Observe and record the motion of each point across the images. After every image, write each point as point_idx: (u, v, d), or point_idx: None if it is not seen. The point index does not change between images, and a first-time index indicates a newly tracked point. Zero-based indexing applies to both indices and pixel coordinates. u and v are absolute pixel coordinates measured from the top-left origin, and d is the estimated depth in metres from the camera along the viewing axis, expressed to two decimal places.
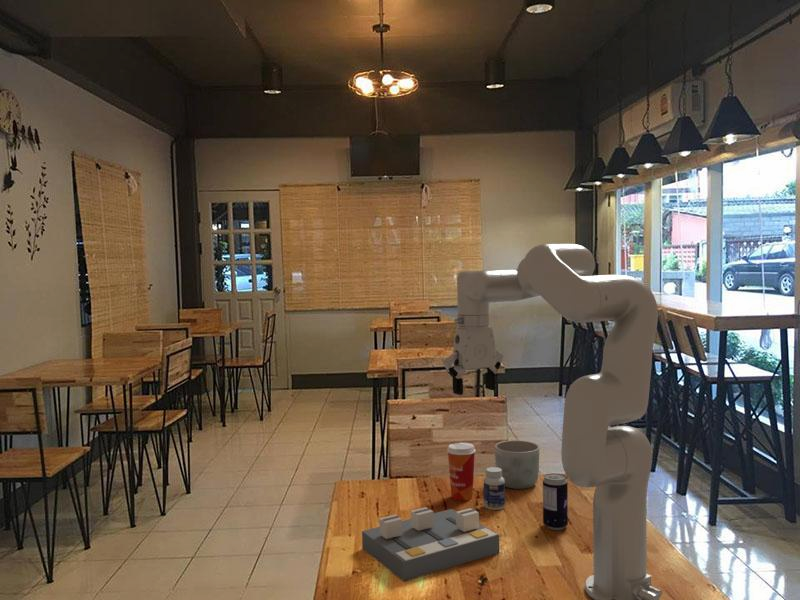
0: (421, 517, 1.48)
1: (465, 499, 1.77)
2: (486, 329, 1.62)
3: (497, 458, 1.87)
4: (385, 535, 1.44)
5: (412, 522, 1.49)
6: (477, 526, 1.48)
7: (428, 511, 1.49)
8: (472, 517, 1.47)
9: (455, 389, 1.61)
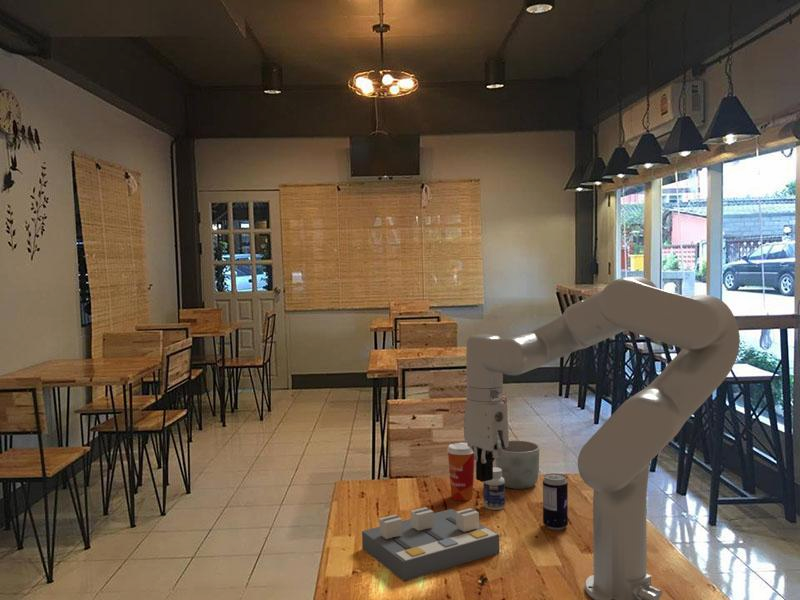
0: (421, 517, 1.48)
1: (465, 499, 1.77)
2: None
3: (497, 458, 1.87)
4: (385, 535, 1.44)
5: (412, 522, 1.49)
6: (477, 526, 1.48)
7: (428, 511, 1.49)
8: (472, 517, 1.47)
9: (490, 475, 1.41)
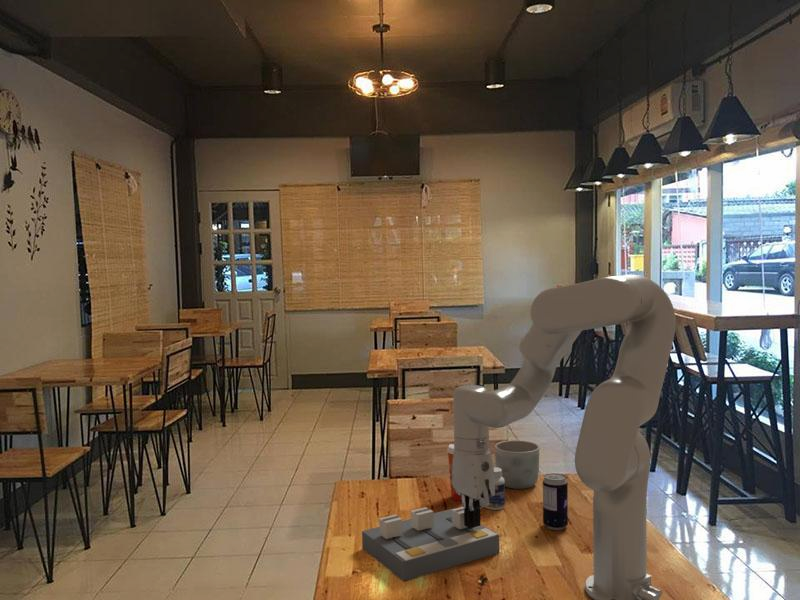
0: (421, 517, 1.48)
1: None
2: None
3: (497, 458, 1.87)
4: (385, 535, 1.44)
5: (412, 522, 1.49)
6: None
7: (428, 511, 1.49)
8: None
9: (477, 522, 1.45)
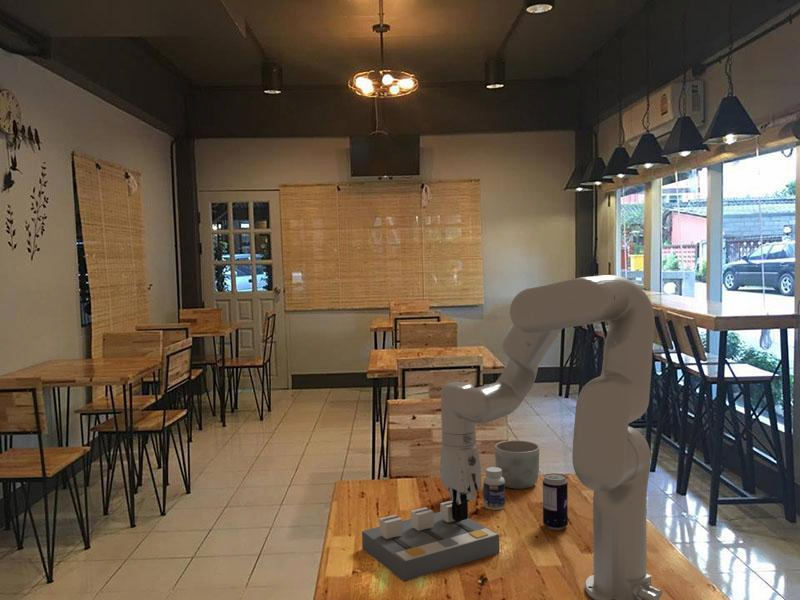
0: (421, 517, 1.48)
1: None
2: None
3: (497, 458, 1.87)
4: (385, 535, 1.44)
5: (412, 522, 1.49)
6: None
7: (428, 511, 1.49)
8: None
9: (465, 515, 1.49)
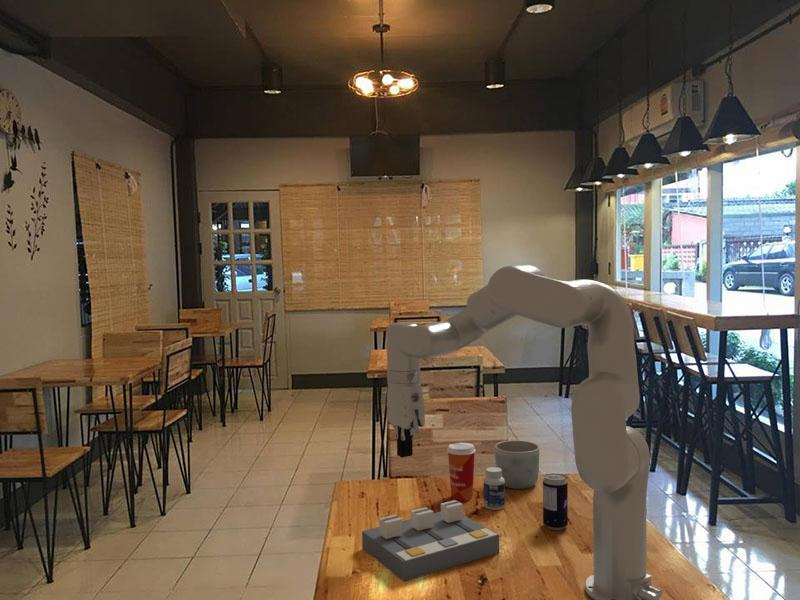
0: (421, 517, 1.48)
1: (465, 499, 1.77)
2: None
3: (497, 458, 1.87)
4: (385, 535, 1.44)
5: (412, 522, 1.49)
6: (461, 517, 1.53)
7: (428, 511, 1.49)
8: (456, 509, 1.52)
9: (409, 451, 1.53)
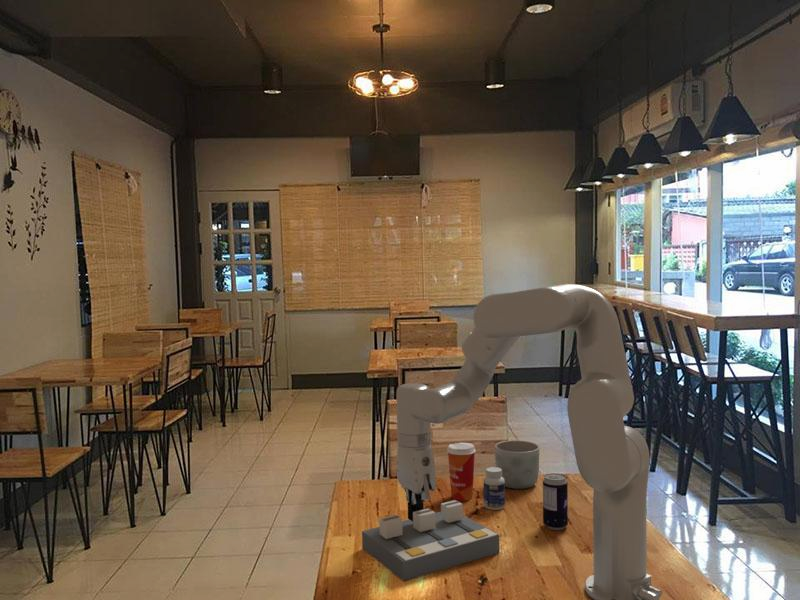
0: (423, 518, 1.47)
1: (465, 499, 1.77)
2: None
3: (497, 458, 1.87)
4: (385, 535, 1.44)
5: (414, 523, 1.48)
6: (461, 517, 1.53)
7: (430, 512, 1.48)
8: (456, 509, 1.52)
9: None
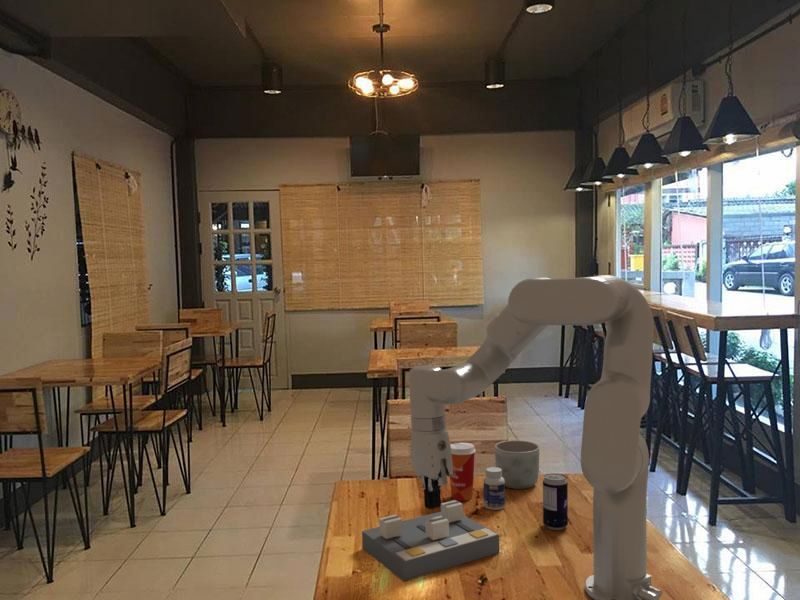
0: (436, 526, 1.42)
1: (465, 499, 1.77)
2: None
3: (497, 458, 1.87)
4: (385, 535, 1.44)
5: (427, 531, 1.44)
6: (461, 517, 1.53)
7: (443, 520, 1.44)
8: (456, 509, 1.52)
9: (437, 502, 1.45)
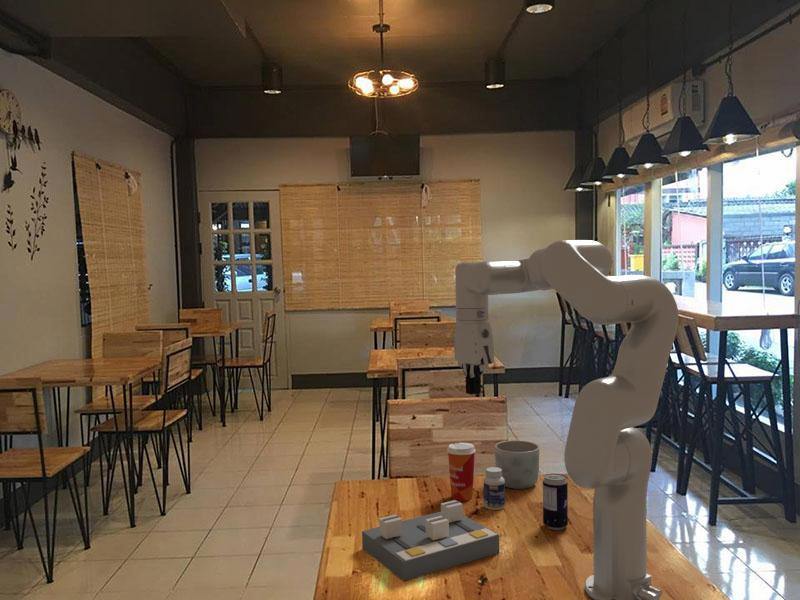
0: (436, 526, 1.42)
1: (465, 499, 1.77)
2: None
3: (497, 458, 1.87)
4: (385, 535, 1.44)
5: (427, 531, 1.44)
6: (461, 517, 1.53)
7: (443, 520, 1.44)
8: (456, 509, 1.52)
9: (478, 388, 1.56)
